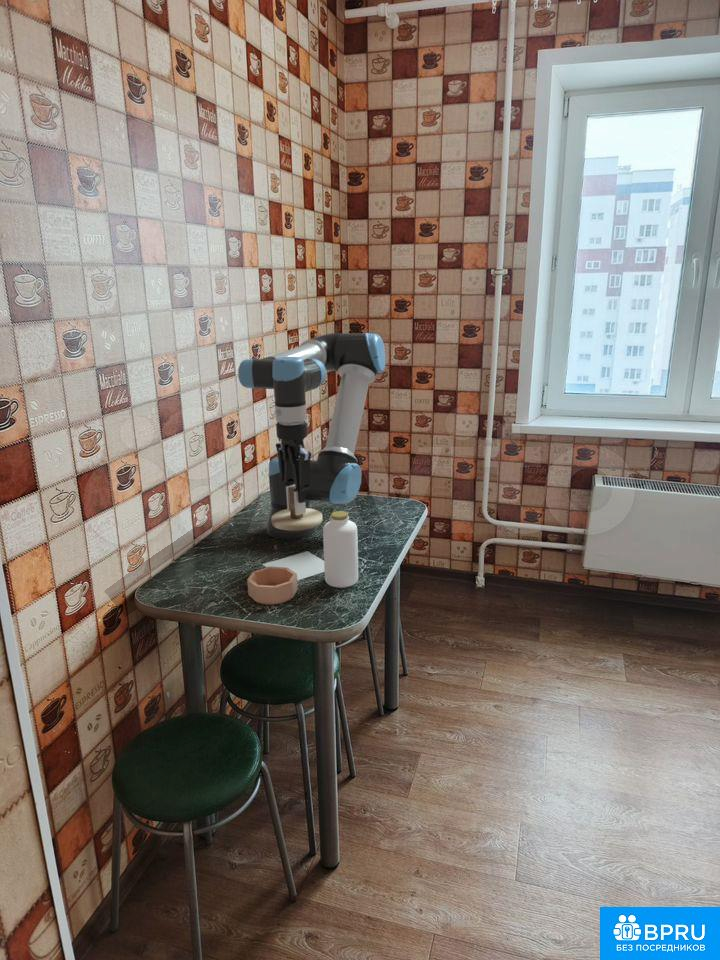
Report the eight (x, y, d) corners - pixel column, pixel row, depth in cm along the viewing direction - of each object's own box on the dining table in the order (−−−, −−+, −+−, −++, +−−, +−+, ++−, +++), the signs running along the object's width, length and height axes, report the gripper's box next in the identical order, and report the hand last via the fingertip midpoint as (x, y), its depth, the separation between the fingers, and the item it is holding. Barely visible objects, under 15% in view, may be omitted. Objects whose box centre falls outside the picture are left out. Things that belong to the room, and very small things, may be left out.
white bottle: (324, 575, 165) (321, 508, 160) (357, 573, 166) (355, 507, 161) (325, 590, 157) (322, 520, 152) (359, 588, 158) (358, 519, 153)
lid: (262, 519, 168) (260, 486, 166) (305, 508, 176) (303, 476, 173) (287, 534, 158) (285, 500, 156) (332, 522, 165) (330, 488, 163)
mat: (262, 565, 172) (262, 564, 172) (307, 552, 180) (307, 551, 180) (289, 584, 161) (288, 582, 161) (336, 569, 169) (335, 567, 169)
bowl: (242, 594, 156) (241, 575, 155) (282, 581, 163) (281, 563, 161) (264, 611, 148) (262, 591, 147) (304, 597, 154) (303, 578, 153)
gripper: (261, 418, 163) (268, 506, 170) (295, 430, 151) (300, 524, 158) (288, 414, 167) (293, 500, 174) (322, 425, 155) (326, 517, 162)
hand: (296, 511), depth 166 cm, fingers closed on lid, 3 cm apart
